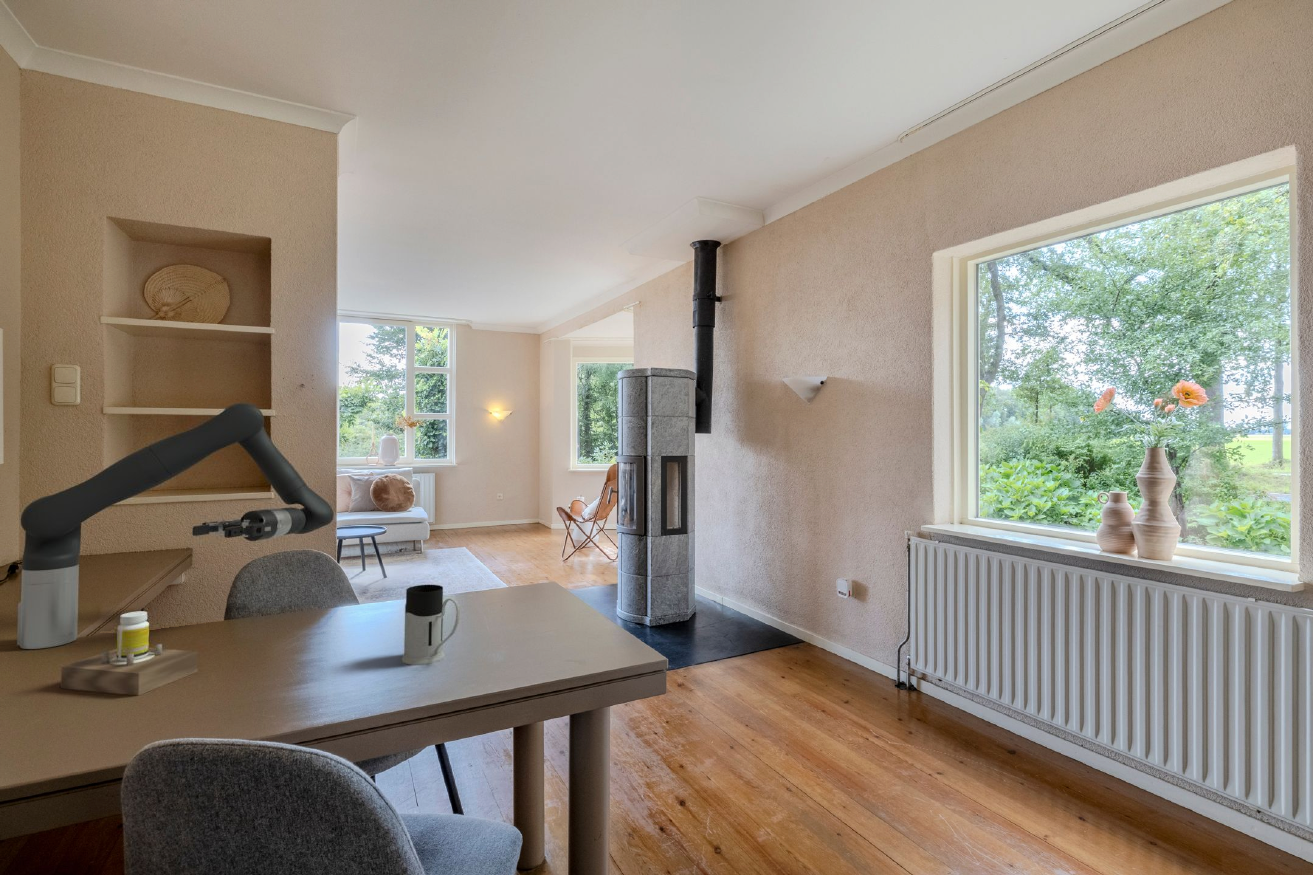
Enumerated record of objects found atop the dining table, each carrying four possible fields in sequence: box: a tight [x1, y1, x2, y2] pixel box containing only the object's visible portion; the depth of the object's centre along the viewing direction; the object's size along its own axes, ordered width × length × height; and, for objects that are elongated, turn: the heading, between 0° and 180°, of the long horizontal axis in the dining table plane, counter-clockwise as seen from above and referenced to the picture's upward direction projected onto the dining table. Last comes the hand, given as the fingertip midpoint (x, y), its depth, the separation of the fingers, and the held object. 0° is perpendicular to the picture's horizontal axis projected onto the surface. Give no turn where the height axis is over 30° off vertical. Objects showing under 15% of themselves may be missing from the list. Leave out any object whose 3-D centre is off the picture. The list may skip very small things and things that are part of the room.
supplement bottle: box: [116, 610, 150, 661], centre depth 120 cm, size 5×5×8 cm
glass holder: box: [401, 584, 461, 666], centre depth 134 cm, size 9×14×15 cm, turn 64°
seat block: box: [60, 643, 199, 697], centre depth 120 cm, size 17×12×6 cm
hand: (209, 532), depth 141 cm, fingers open, 8 cm apart
